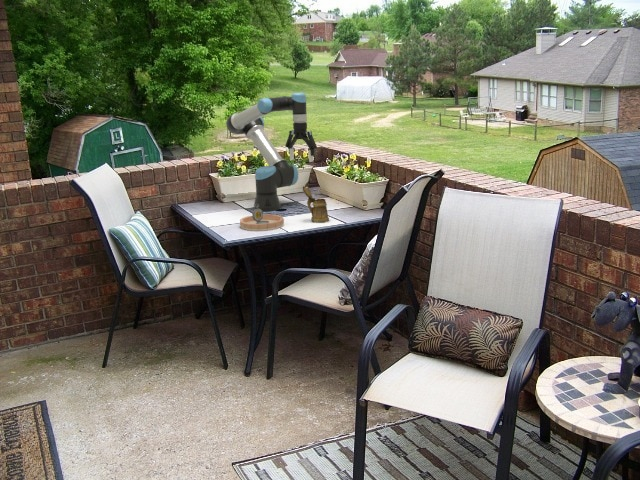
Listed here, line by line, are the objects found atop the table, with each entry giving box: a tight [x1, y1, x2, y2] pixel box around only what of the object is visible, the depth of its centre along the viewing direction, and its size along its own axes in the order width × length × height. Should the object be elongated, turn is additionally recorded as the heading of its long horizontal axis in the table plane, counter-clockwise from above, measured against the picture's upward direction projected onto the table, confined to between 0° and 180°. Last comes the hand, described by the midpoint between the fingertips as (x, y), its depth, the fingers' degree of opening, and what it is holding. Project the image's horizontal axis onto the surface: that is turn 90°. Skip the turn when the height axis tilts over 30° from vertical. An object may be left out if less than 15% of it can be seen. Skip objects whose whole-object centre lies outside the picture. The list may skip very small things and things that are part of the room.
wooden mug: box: [302, 185, 330, 224], centre depth 360 cm, size 9×14×18 cm, turn 71°
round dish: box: [239, 213, 285, 232], centre depth 356 cm, size 22×22×3 cm
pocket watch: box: [251, 204, 269, 224], centre depth 355 cm, size 8×8×10 cm
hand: (301, 160), depth 385 cm, fingers open, 13 cm apart
